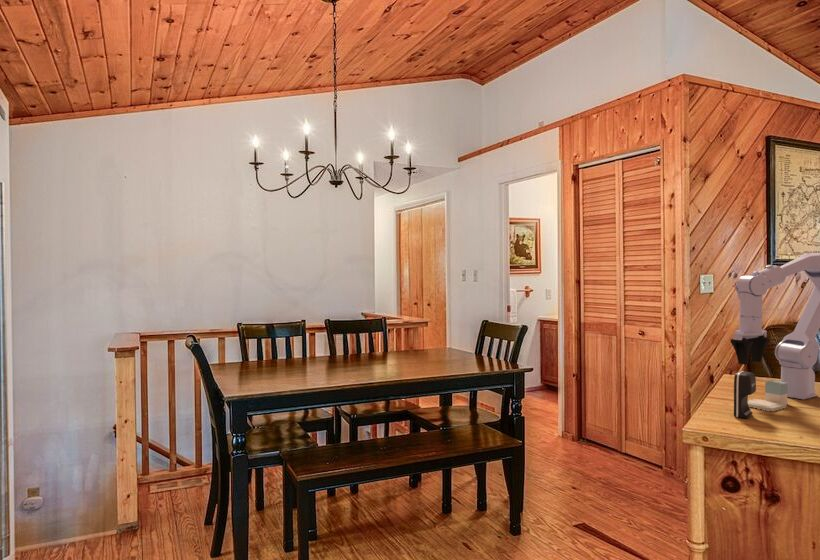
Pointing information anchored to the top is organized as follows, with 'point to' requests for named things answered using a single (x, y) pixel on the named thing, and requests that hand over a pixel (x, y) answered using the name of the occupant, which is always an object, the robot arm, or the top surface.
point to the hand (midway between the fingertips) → (749, 362)
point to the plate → (765, 405)
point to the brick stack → (776, 392)
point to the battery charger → (743, 393)
